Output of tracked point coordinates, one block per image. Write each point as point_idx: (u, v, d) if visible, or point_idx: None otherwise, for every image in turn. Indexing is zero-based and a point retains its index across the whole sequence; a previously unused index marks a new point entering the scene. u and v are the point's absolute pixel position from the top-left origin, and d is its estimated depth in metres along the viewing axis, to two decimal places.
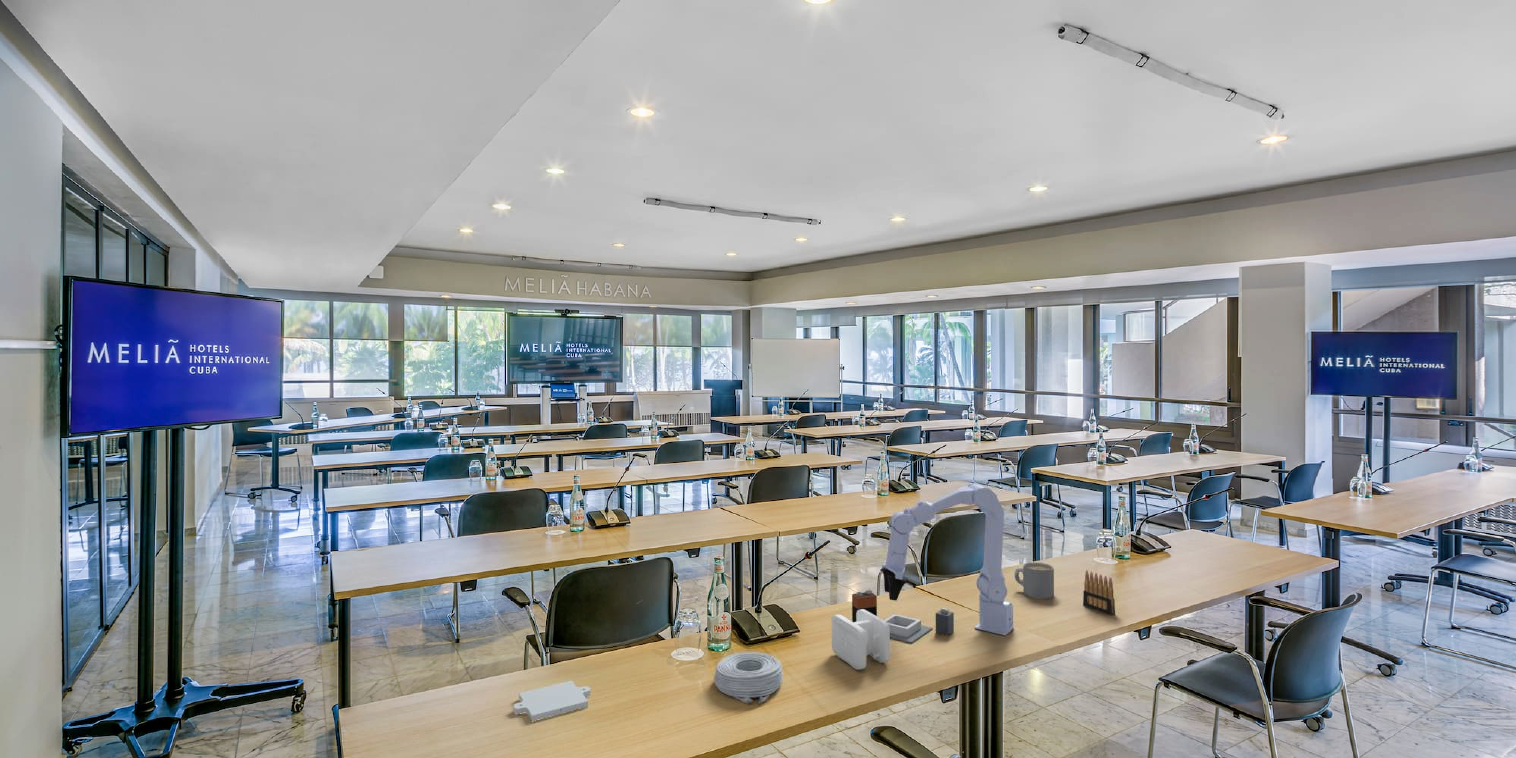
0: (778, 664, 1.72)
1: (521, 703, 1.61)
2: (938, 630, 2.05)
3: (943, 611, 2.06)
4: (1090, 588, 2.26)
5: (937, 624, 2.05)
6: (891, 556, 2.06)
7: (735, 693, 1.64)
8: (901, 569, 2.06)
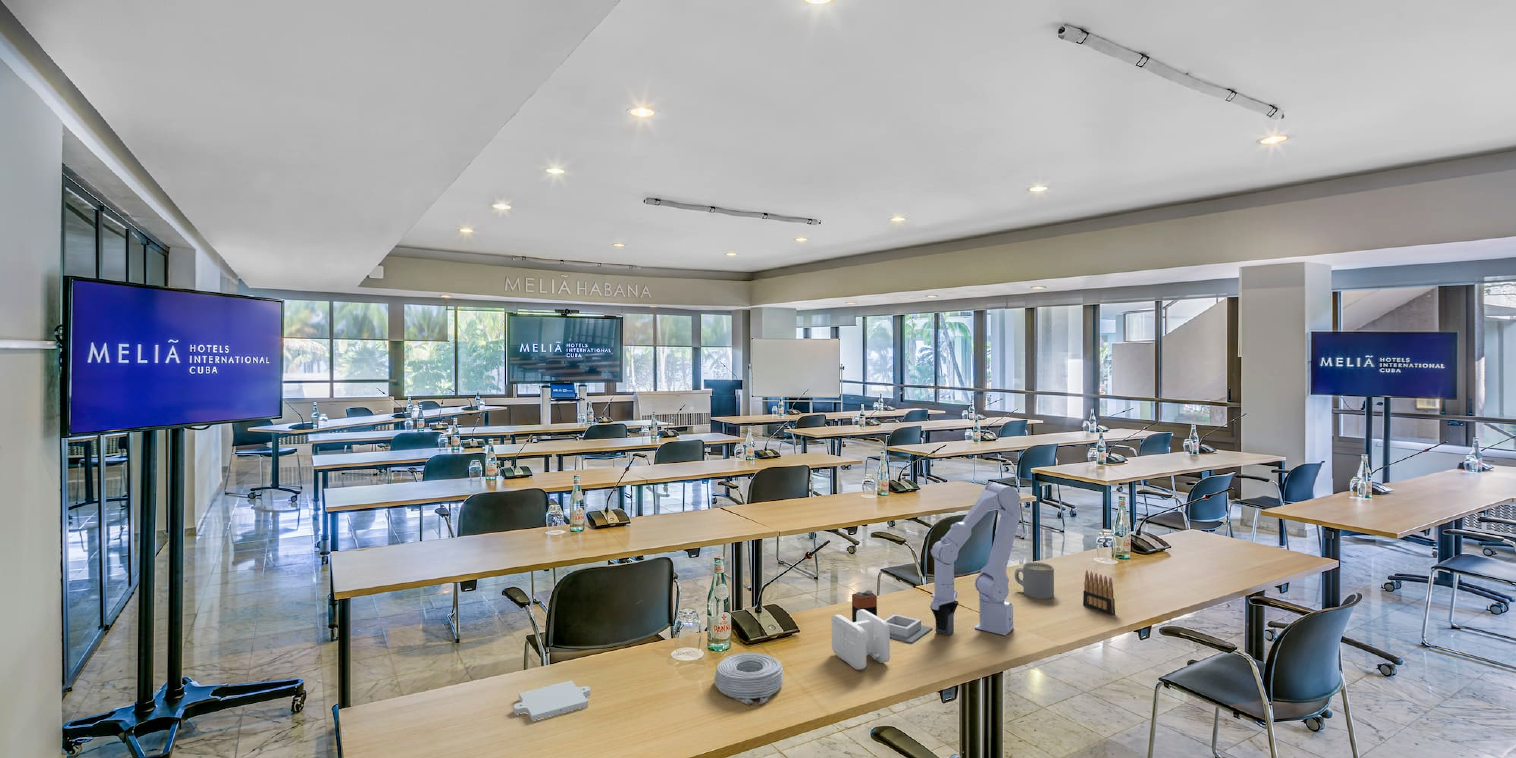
0: (779, 665, 1.71)
1: (521, 703, 1.61)
2: (938, 630, 2.05)
3: None
4: (1090, 588, 2.26)
5: None
6: (935, 586, 2.06)
7: (735, 694, 1.64)
8: (945, 600, 2.03)
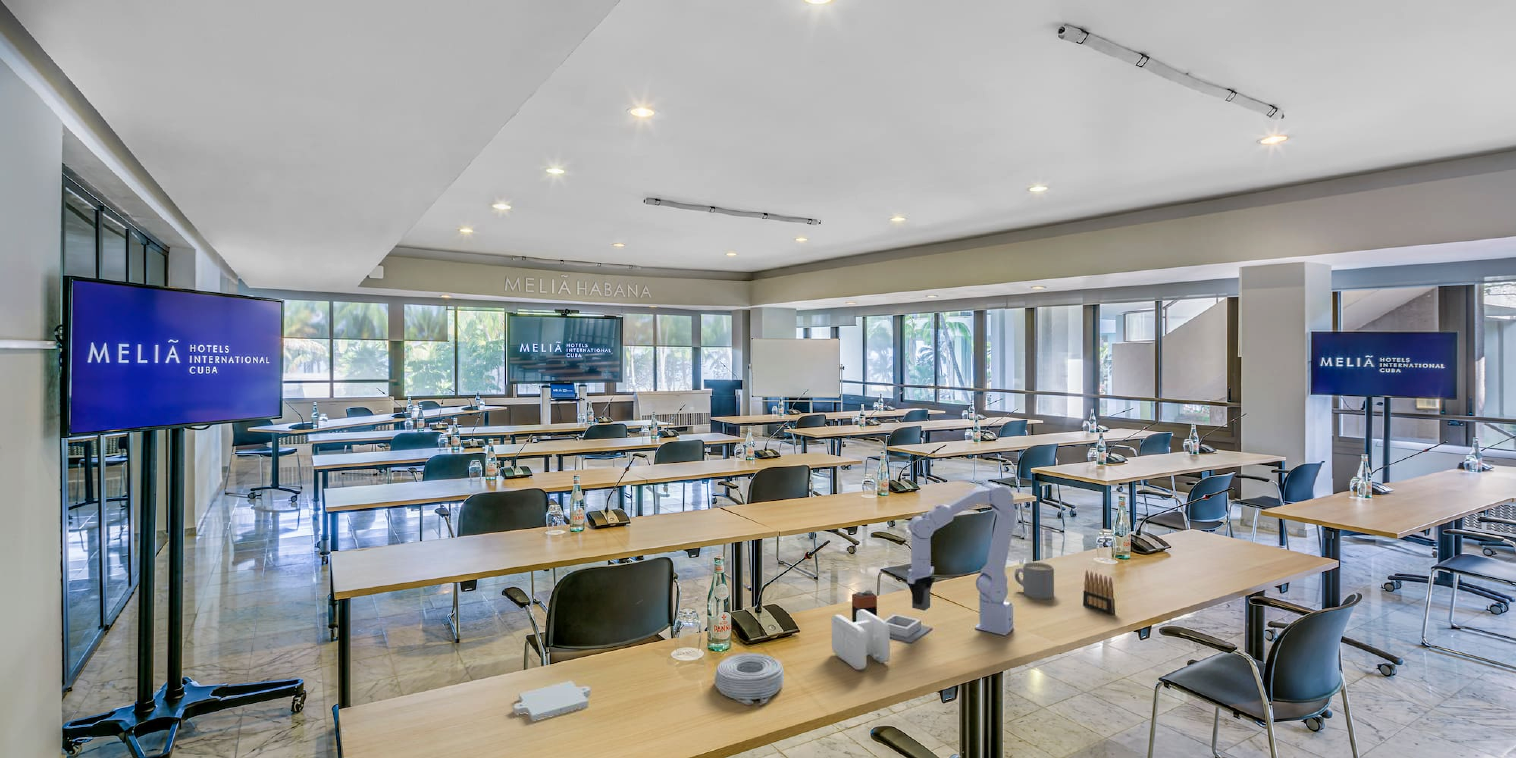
0: (779, 666, 1.71)
1: (521, 703, 1.61)
2: (914, 605, 2.06)
3: None
4: (1090, 588, 2.26)
5: None
6: (911, 561, 2.06)
7: (736, 695, 1.63)
8: (921, 574, 2.04)
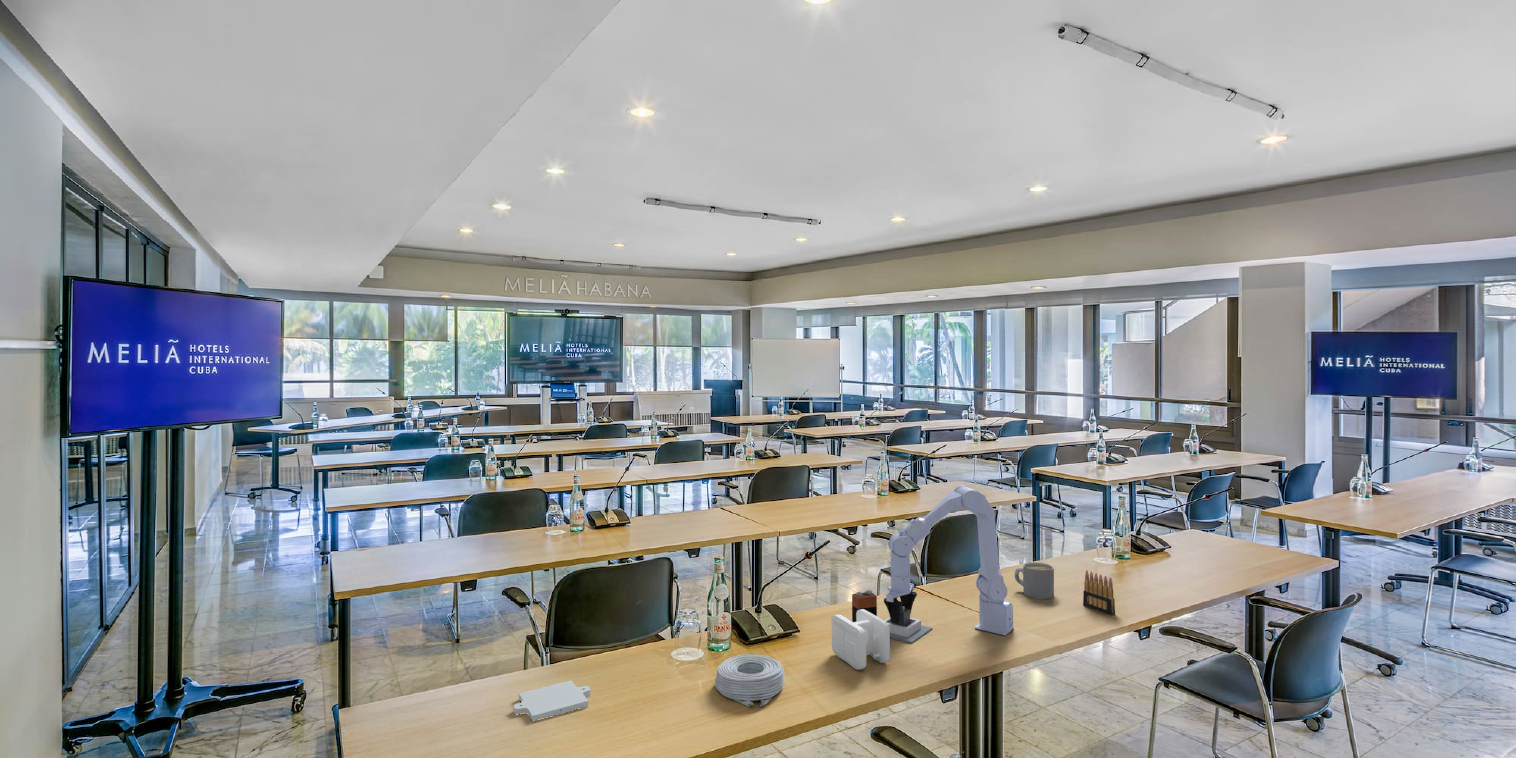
0: (780, 667, 1.70)
1: (521, 703, 1.61)
2: None
3: None
4: (1090, 588, 2.26)
5: None
6: (891, 579, 2.07)
7: (736, 696, 1.63)
8: (900, 592, 2.05)
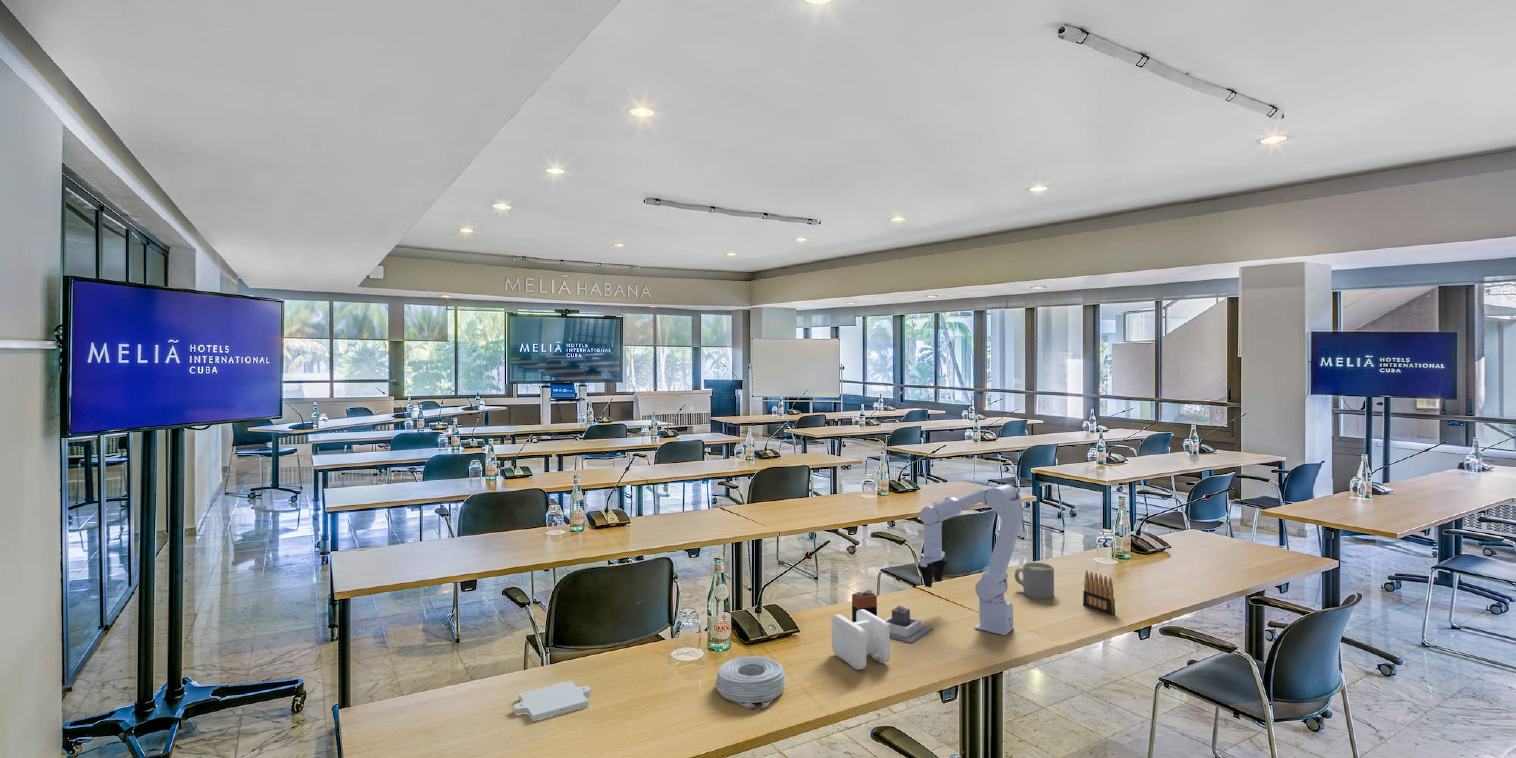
0: (781, 668, 1.69)
1: (521, 703, 1.61)
2: None
3: (899, 608, 2.07)
4: (1090, 588, 2.26)
5: (893, 621, 2.07)
6: (924, 546, 2.23)
7: (737, 698, 1.62)
8: (933, 558, 2.20)
